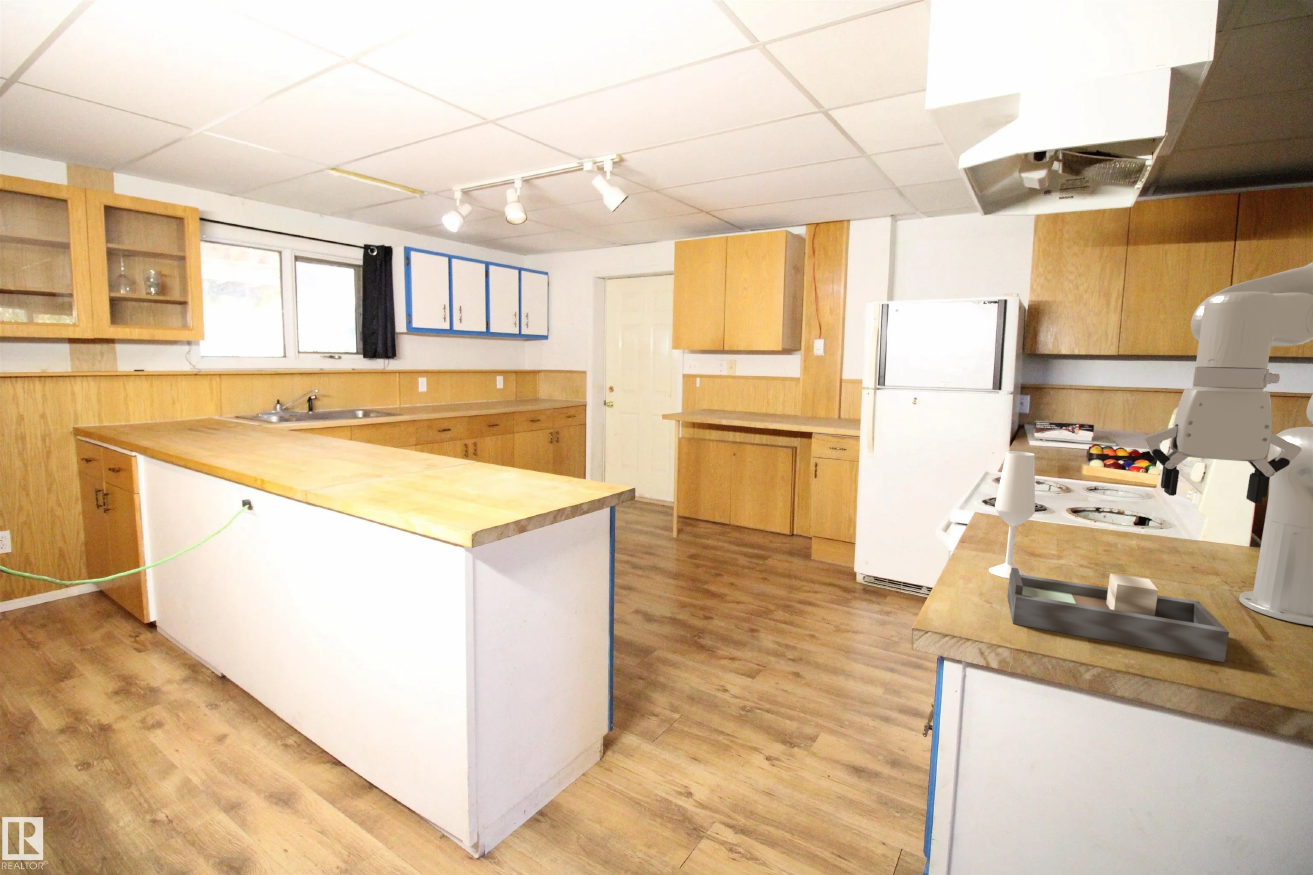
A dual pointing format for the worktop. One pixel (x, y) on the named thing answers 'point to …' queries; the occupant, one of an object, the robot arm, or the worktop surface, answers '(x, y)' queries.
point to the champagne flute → (1015, 500)
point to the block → (1132, 595)
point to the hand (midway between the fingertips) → (1210, 497)
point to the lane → (1115, 617)
